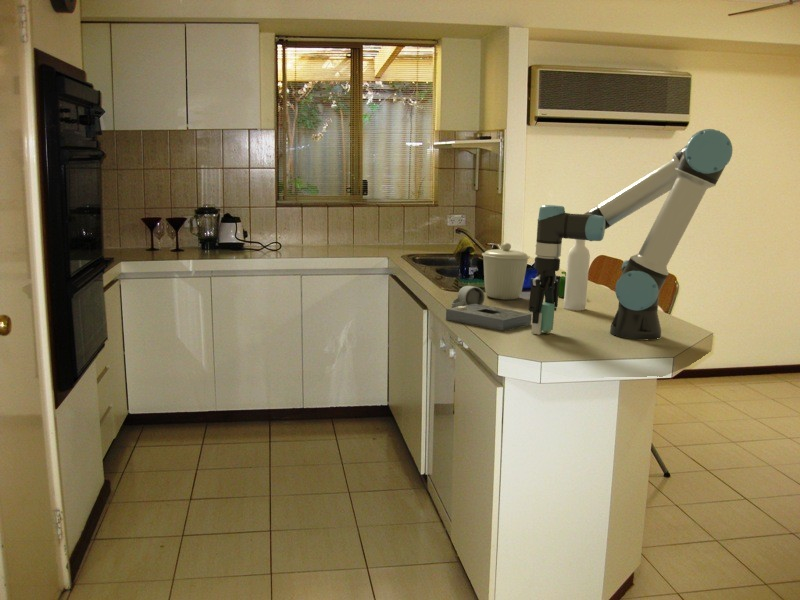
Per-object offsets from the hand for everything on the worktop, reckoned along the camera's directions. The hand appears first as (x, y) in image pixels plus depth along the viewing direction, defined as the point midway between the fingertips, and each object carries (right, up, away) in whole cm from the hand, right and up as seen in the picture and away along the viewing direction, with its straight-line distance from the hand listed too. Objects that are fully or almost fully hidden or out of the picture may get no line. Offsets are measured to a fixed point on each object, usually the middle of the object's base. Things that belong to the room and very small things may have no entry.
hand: (541, 332), depth 240 cm
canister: (-4, +10, +61) cm, 62 cm away
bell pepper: (+22, +11, +69) cm, 73 cm away
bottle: (+20, +6, +45) cm, 49 cm away
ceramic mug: (-20, +7, +38) cm, 43 cm away
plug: (0, 0, 0) cm, 0 cm away
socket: (-15, +3, +13) cm, 20 cm away
